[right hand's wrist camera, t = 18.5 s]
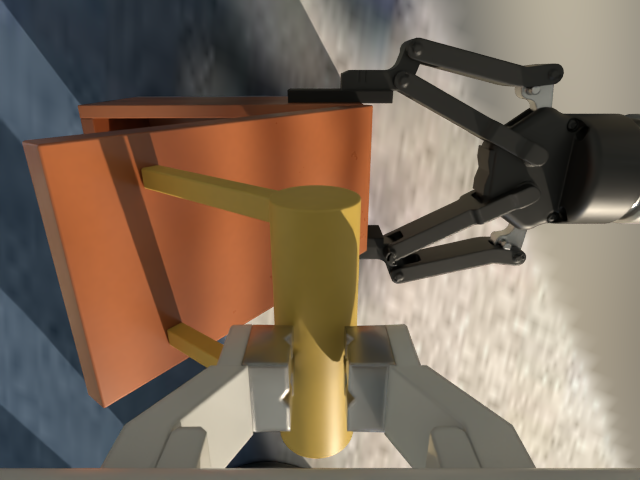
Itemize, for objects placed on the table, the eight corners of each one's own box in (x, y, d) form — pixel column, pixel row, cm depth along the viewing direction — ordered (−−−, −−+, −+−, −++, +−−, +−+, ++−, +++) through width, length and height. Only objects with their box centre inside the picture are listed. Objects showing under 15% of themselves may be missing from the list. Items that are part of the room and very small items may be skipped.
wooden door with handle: (87, 394, 15) (273, 561, 10) (20, 140, 12) (247, 192, 7) (352, 246, 28) (493, 285, 23) (356, 104, 25) (523, 112, 19)
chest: (156, 205, 37) (106, 247, 28) (139, 96, 34) (76, 105, 25) (347, 204, 37) (358, 245, 28) (350, 95, 34) (363, 103, 25)
